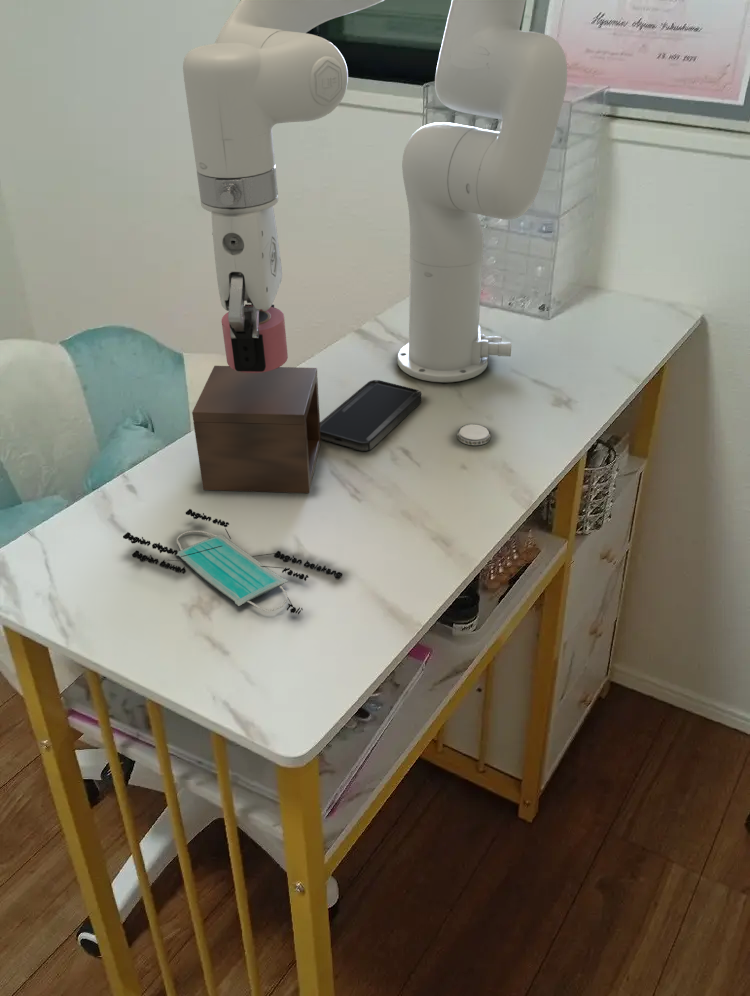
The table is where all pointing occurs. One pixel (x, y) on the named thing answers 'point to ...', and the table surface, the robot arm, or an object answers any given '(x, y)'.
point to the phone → (369, 415)
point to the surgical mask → (228, 566)
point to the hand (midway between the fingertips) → (256, 352)
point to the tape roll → (272, 338)
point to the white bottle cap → (474, 434)
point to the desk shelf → (258, 430)
